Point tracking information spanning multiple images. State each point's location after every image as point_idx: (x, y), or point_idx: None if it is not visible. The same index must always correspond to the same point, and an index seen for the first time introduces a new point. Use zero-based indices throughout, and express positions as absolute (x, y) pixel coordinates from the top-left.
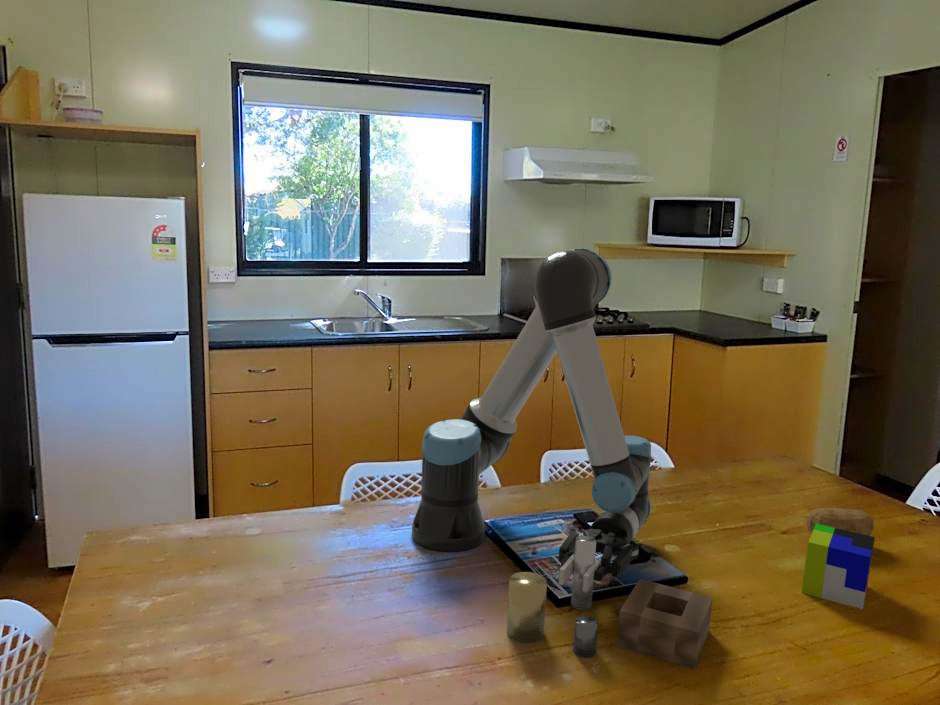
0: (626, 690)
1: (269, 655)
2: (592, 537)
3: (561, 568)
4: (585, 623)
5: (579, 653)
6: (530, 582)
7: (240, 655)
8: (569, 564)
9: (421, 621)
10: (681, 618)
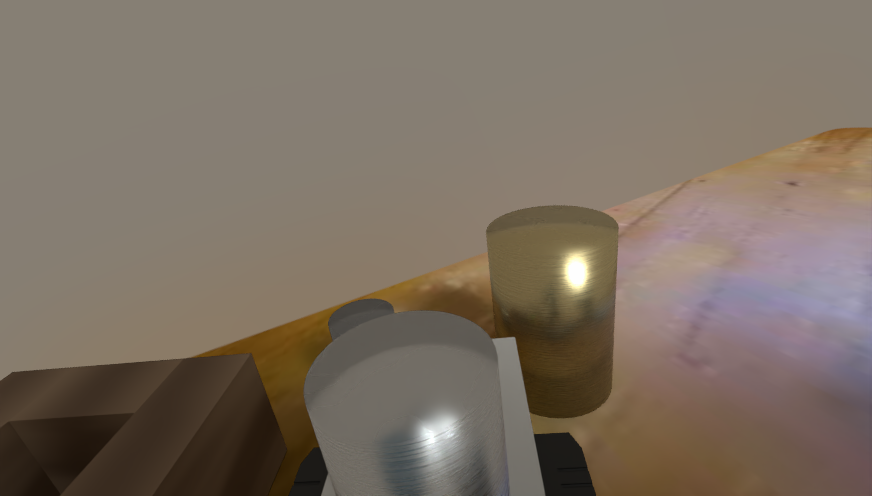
0: (281, 335)
1: (809, 185)
2: (345, 436)
3: (511, 346)
4: (363, 310)
5: None
6: (538, 226)
7: (831, 176)
8: None
9: (789, 298)
10: (16, 412)
